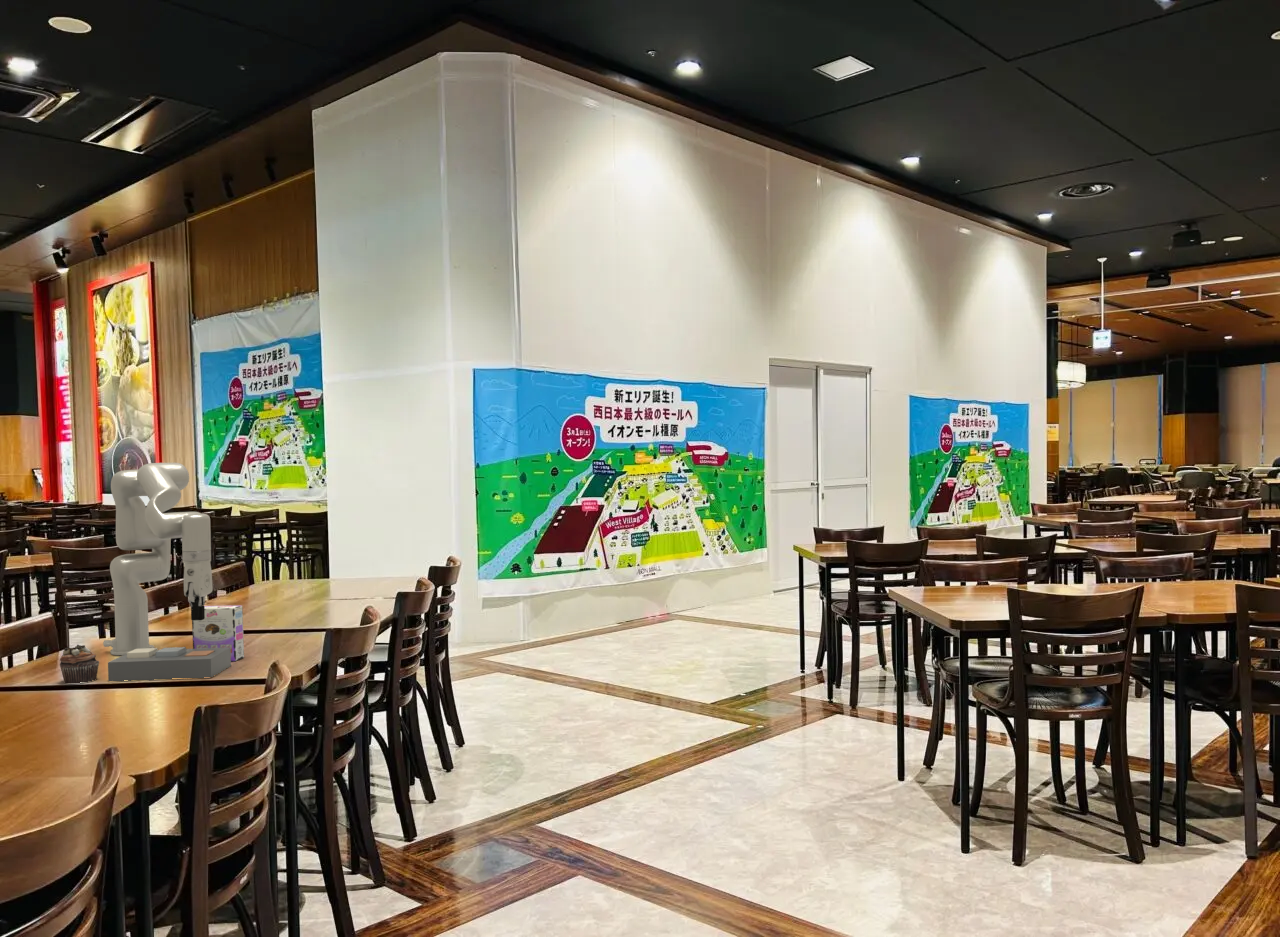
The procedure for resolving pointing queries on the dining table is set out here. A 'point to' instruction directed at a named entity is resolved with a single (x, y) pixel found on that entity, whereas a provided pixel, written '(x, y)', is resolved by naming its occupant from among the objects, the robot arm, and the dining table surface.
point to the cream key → (142, 653)
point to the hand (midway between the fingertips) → (197, 619)
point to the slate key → (171, 652)
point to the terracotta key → (199, 653)
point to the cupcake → (78, 665)
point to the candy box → (220, 630)
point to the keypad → (170, 666)
